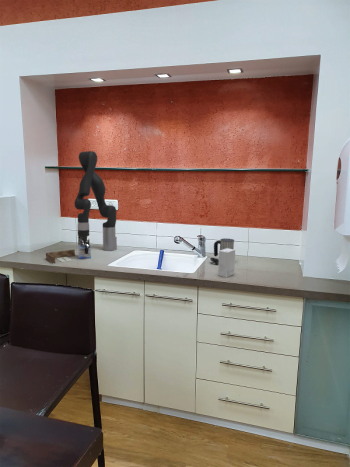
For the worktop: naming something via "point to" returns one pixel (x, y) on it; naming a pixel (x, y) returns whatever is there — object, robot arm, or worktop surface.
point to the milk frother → (222, 247)
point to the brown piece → (59, 255)
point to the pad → (64, 259)
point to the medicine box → (84, 252)
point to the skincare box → (226, 262)
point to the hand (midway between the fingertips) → (84, 252)
